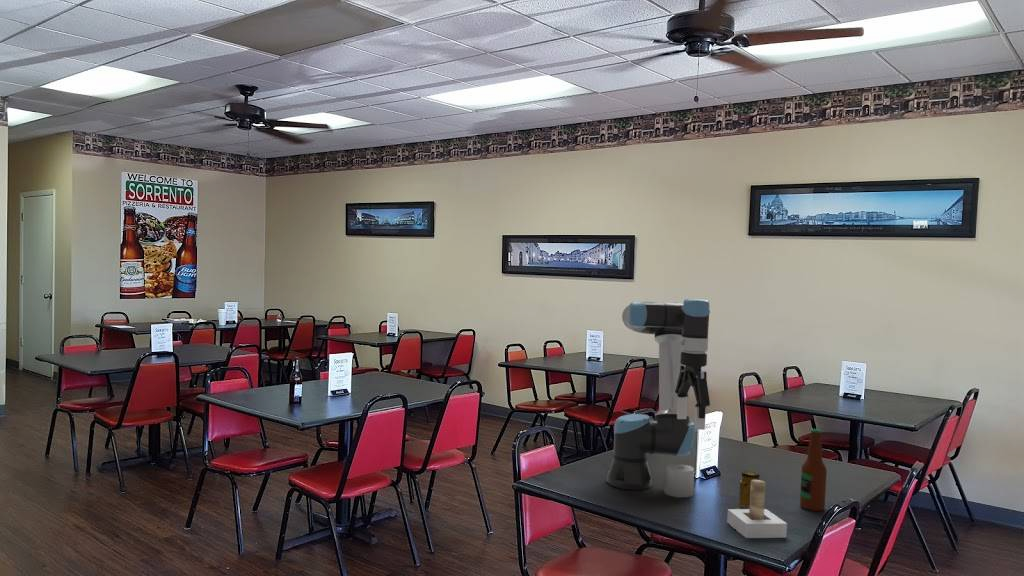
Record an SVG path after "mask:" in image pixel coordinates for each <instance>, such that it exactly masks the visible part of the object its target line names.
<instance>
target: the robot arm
mask: <svg viewBox="0 0 1024 576" xmlns="http://www.w3.org/2000/svg"><path fill="white" fill-rule="evenodd" d="M710 314H711V311H710V302H709V300H707V299H700V298H685V299H684V300H683V303H679V302H664V301H663V302H662V301H659V302H658V301H632V302H630V304H628V305H627V306H626V307H625V308H624V309H623V311H622V322H623V324H624V326H625V327H626V328H627V329H629V330H631V331H633V332H636V333H638V334H639V333H640V334H646V335H654V341H655V342H656V343H657V344H658V380H659V381H658V396H659V397H658V399H659V400H658V402H659V405H658V407H659V409H658V411H657V412H656V413H655V414H654V419H651V418H650V416H649V415H648V414H641V413H632V414H624V415H621V416H619V417H617V418H616V420H615V421H614V429H613V433H614V435H613V436H614V437H613V438H614V439H613V455H612V462H611V463H610V464H611V465H610V467H609V469H608V472H607V475H606V482H608V483H609V484H608V483H607V484H608V485H610V486H612V487H614V486H615V487H614V488H617V489H622V490H623V489H624V490H631V491H632V490H633V491H637V490H638V491H639V490H646V489H650V488H651V487H652V485H653V483H652V481H653V478H652V474H651V471H650V470H651V469H650V467H649V463H648V456H649V455H650V456H654V455H655V456H669V457H675V458H676V457H686V456H688V455H689V454H690V453H691V452H692V449H693V445H694V440H695V430H703V431H705V430H706V414H707V413H706V412H707V407H710V406H711V403H710V394H709V389H708V388H709V387H708V380H707V377H708V376H707V371H702V367H706V366H707V364H708V354H707V352H708V349H709V325H710V324H709V323H710ZM691 387H692V388H693V392H694V396H695V397H694V398H695V401H696V404H695V405H694V407H695V415H694V422H693V421H690V416H689V414H688V397H689V394H688V393H689V390H690V388H691Z"/></svg>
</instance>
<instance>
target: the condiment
mask: <svg viewBox="0 0 1024 576" xmlns="http://www.w3.org/2000/svg"><path fill="white" fill-rule="evenodd" d="M760 477H761V476H760V473H759V472H756V471H752V470H751V471H750V470H744V471H741V477H740V478H741V479H740V480H739V495H738V508H739V509H749V508H750V490H751V480H760Z"/></svg>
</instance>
